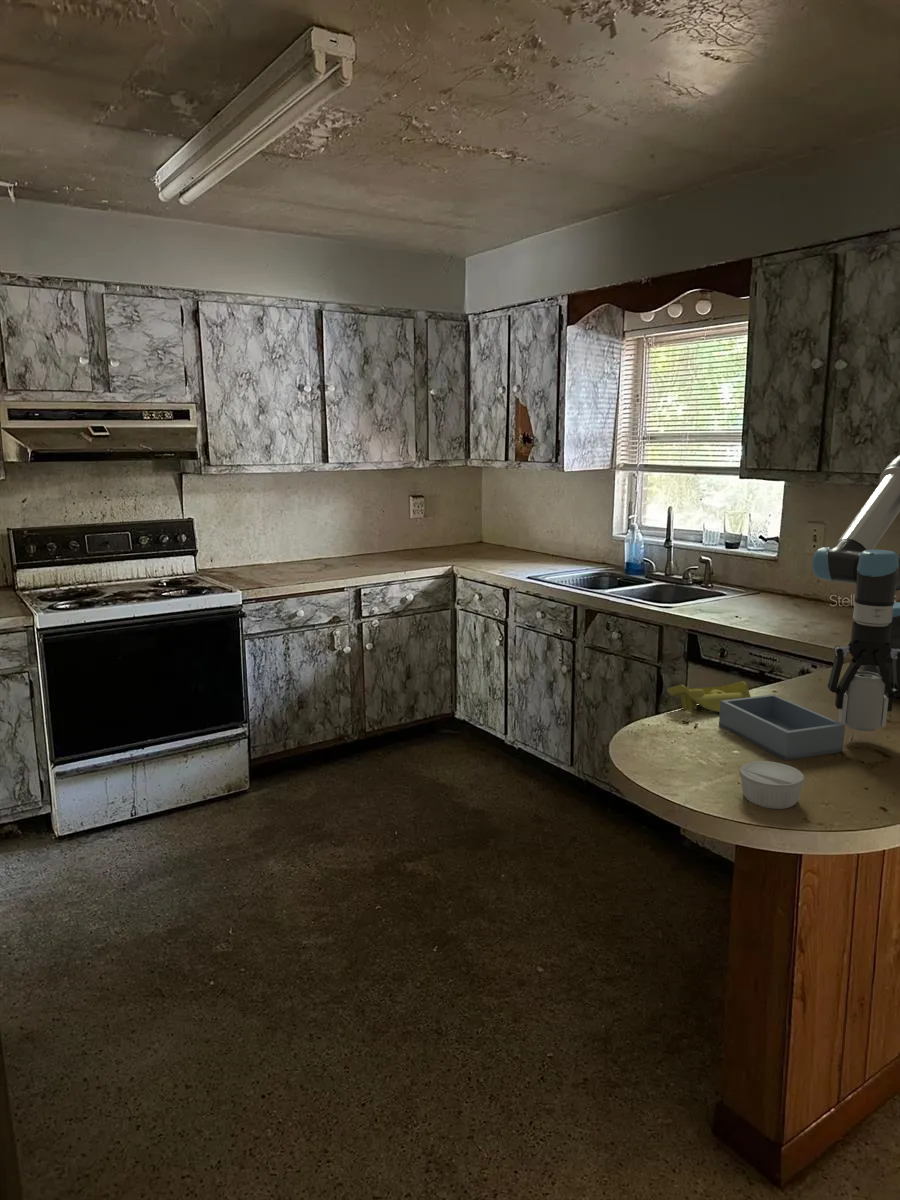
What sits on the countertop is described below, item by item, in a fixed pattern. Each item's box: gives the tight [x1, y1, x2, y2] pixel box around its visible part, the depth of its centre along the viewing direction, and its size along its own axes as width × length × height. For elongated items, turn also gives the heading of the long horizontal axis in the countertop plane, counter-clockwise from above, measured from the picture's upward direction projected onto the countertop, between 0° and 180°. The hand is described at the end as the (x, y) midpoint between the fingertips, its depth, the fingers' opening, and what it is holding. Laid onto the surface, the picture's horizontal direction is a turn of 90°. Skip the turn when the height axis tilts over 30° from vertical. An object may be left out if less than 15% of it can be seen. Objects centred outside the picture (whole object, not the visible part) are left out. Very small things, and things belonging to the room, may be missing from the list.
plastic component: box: [666, 680, 752, 713], centre depth 207 cm, size 20×7×10 cm
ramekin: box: [739, 760, 805, 810], centre depth 155 cm, size 11×11×5 cm
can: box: [845, 670, 885, 732], centre depth 183 cm, size 8×8×12 cm
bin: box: [718, 693, 846, 761], centre depth 186 cm, size 15×22×6 cm
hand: (861, 723), depth 184 cm, fingers closed on can, 7 cm apart
